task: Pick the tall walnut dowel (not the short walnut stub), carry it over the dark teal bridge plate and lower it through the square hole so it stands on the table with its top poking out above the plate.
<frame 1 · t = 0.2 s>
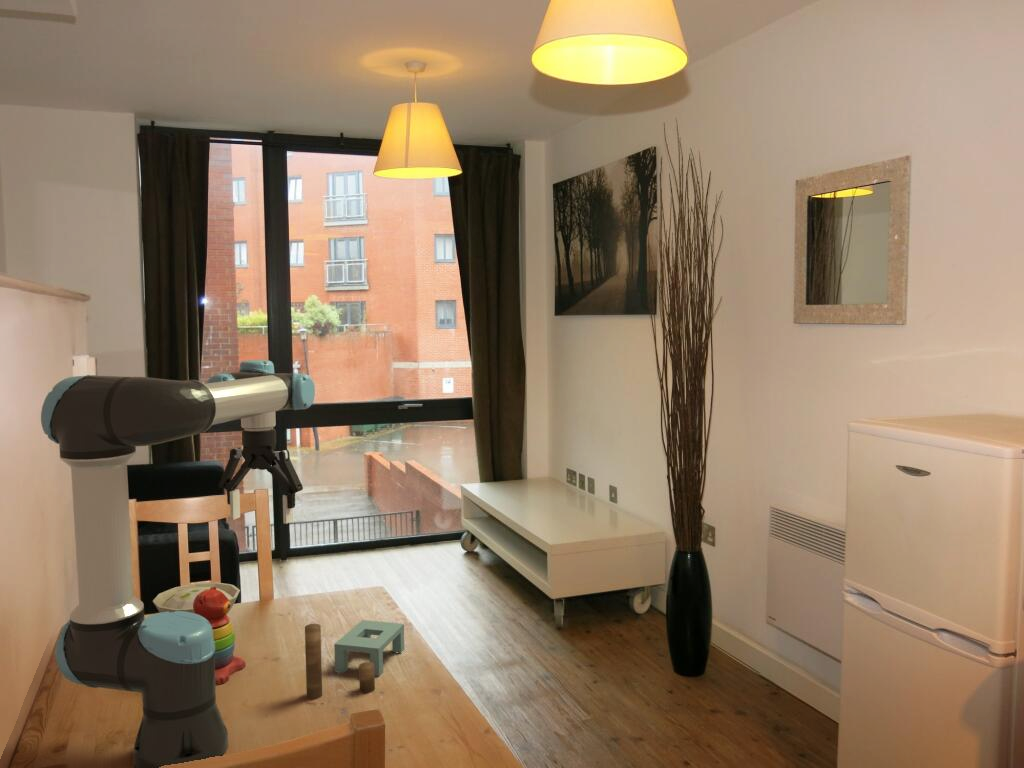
hand: (261, 520, 192), 28 cm above the table, fingers open, 13 cm apart
bridge: (370, 660, 182), on the table
bowl: (198, 632, 198), on the table
short pin: (367, 689, 168), on the table
long pin: (314, 695, 165), on the table
stacking bear: (213, 673, 176), on the table
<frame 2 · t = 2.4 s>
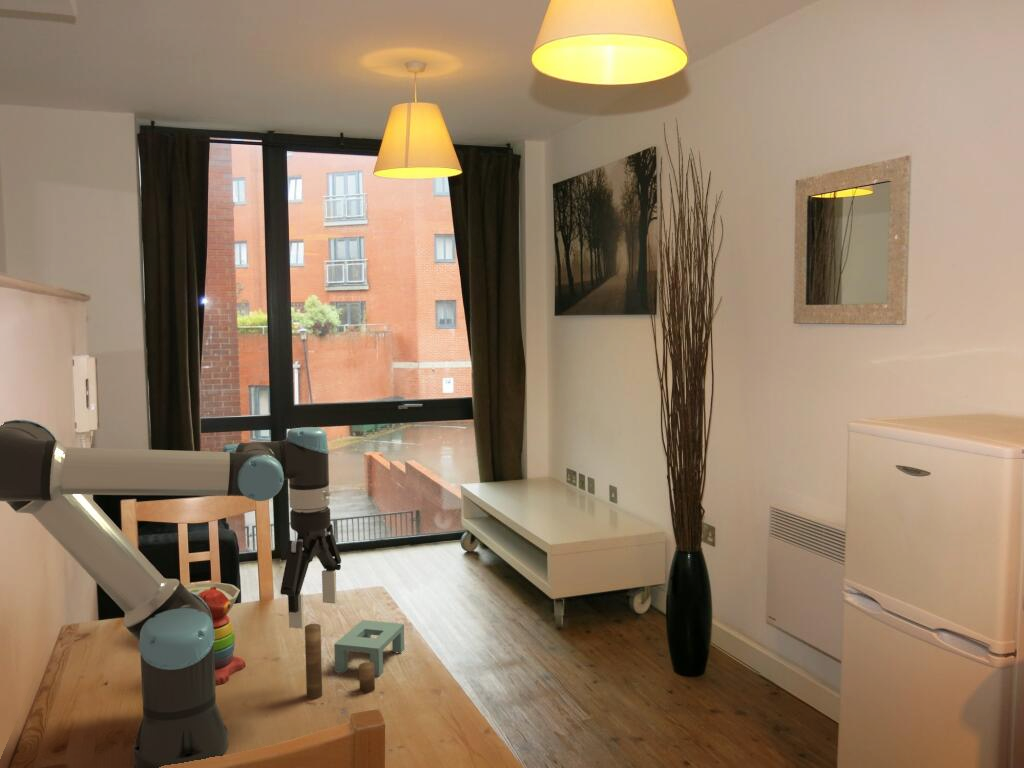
hand: (313, 614, 164), 16 cm above the table, fingers open, 13 cm apart
nothing on the table moved.
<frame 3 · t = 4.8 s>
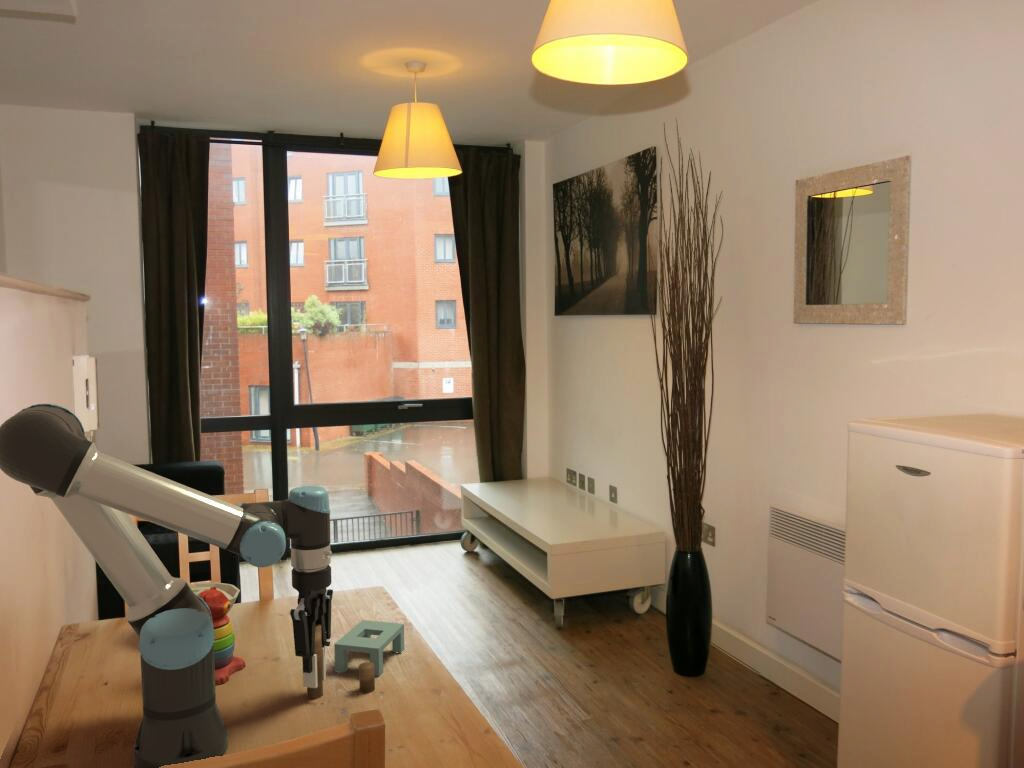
hand: (314, 682, 165), 3 cm above the table, fingers closed on long pin, 3 cm apart
long pin: (315, 695, 165), on the table, touching gripper
everything else where it was.
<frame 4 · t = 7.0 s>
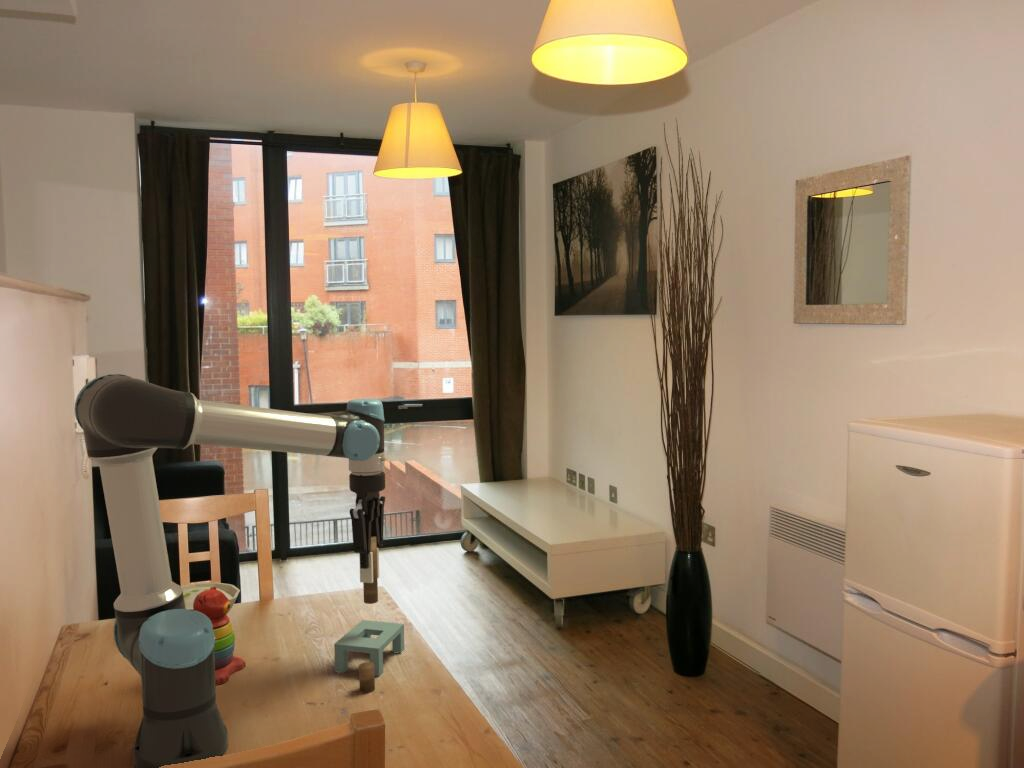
hand: (369, 579, 180), 18 cm above the table, fingers closed on long pin, 2 cm apart
long pin: (370, 601, 181), point 13 cm above the table, touching gripper
everything else where it was.
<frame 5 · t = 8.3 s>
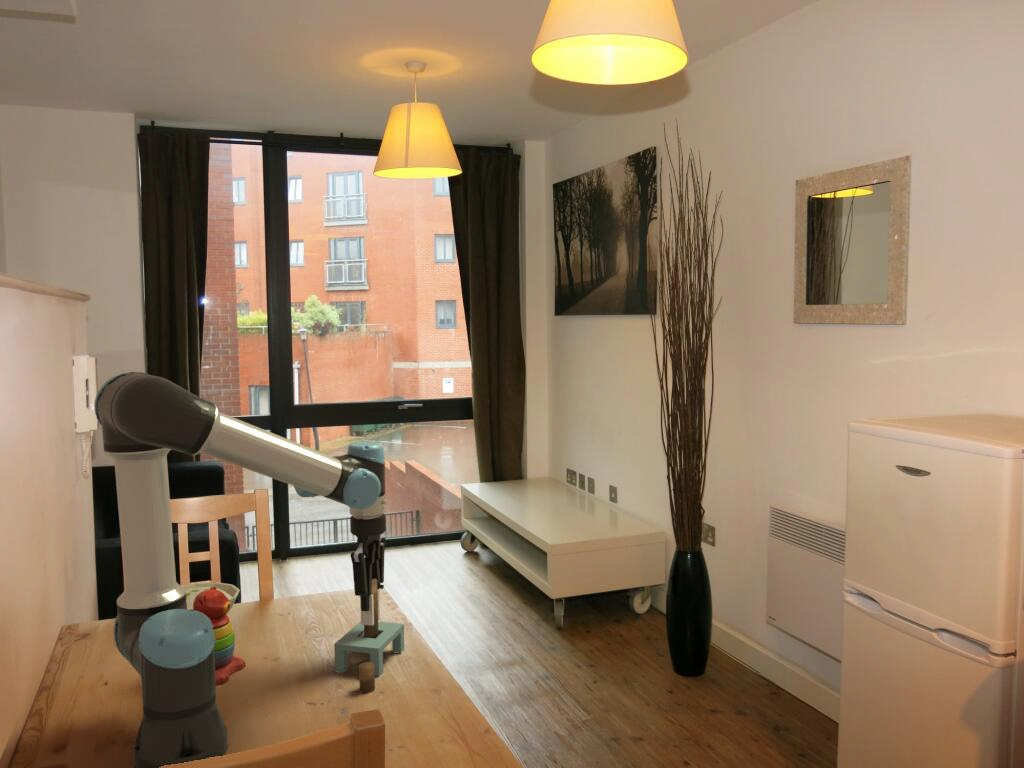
hand: (370, 621, 181), 9 cm above the table, fingers closed on long pin, 2 cm apart
long pin: (371, 643, 181), point 4 cm above the table, touching gripper
everything else where it was.
when the fingers open (7 cm above the table, at t = 9.2 s): long pin drops 2 cm, on the table.
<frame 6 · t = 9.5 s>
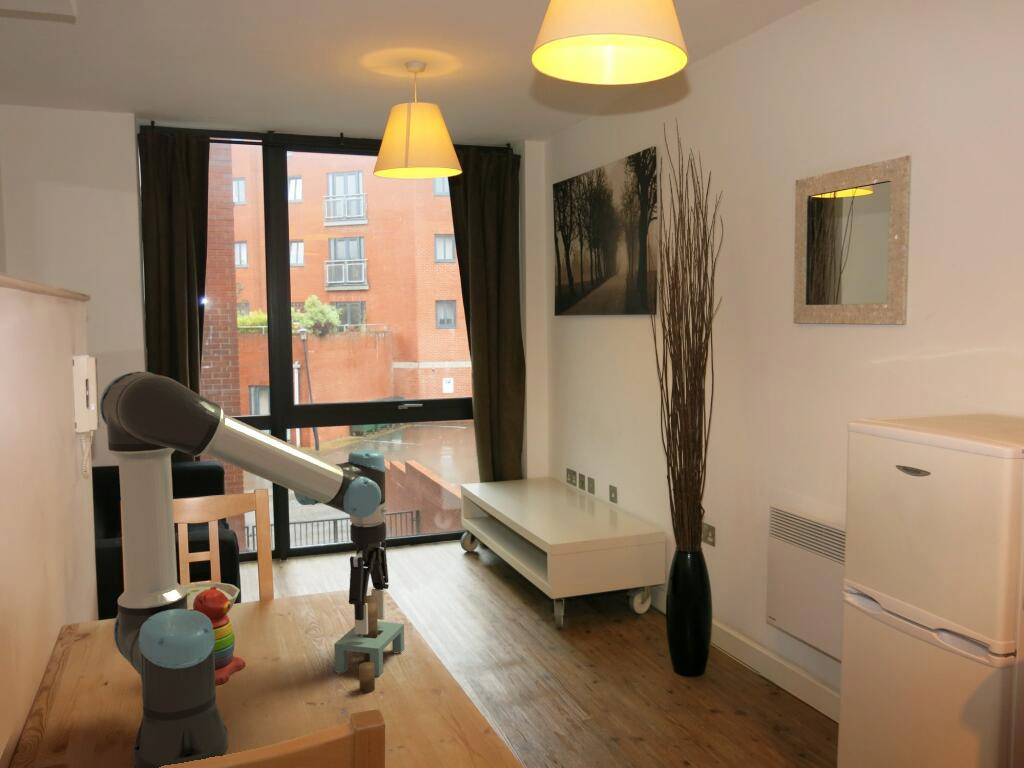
hand: (370, 625, 181), 8 cm above the table, fingers open, 8 cm apart
long pin: (371, 660, 182), on the table
everything else where it was.
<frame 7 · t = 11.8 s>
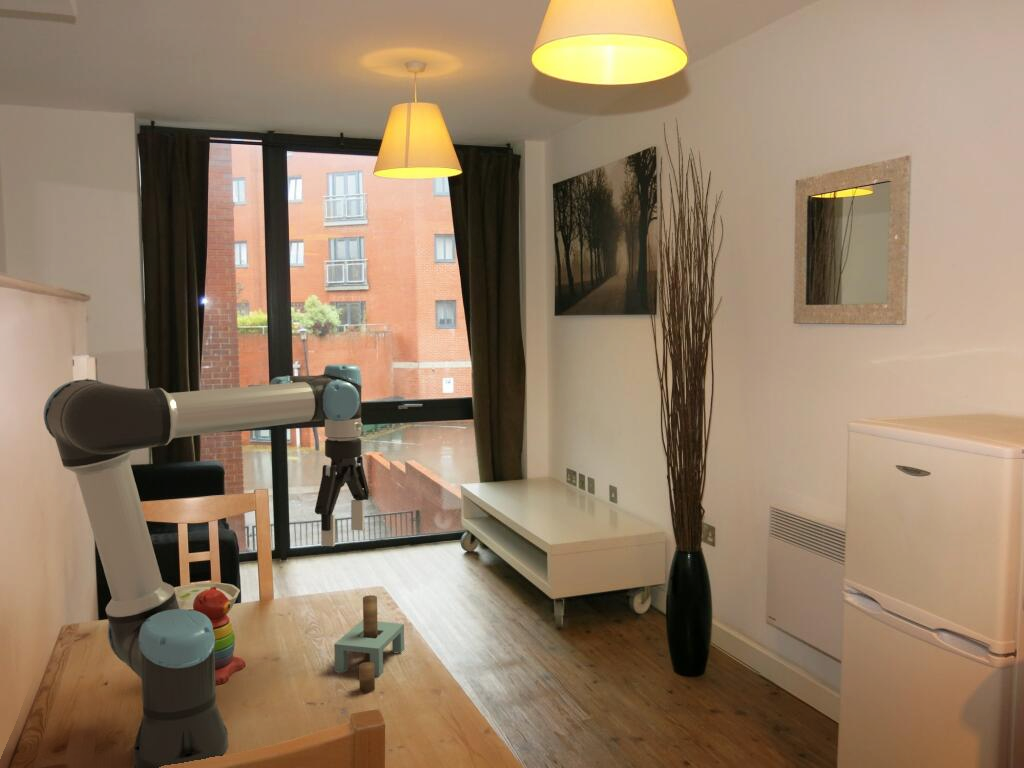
hand: (343, 537, 178), 28 cm above the table, fingers open, 13 cm apart
nothing on the table moved.
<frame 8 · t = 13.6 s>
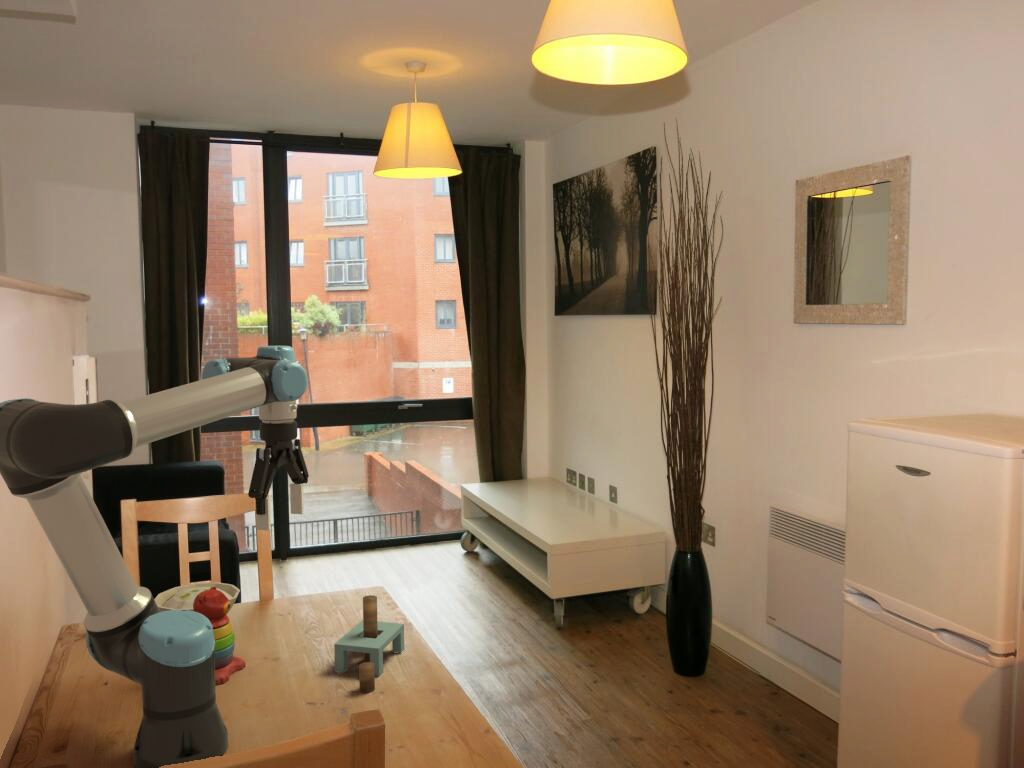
hand: (281, 521, 175), 32 cm above the table, fingers open, 13 cm apart
nothing on the table moved.
at the end: long pin 0.1 cm off-centre on the bridge, point 0.0 cm above the bridge's base; long pin tilted 0°; short pin moved 0.0 cm from its start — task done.
